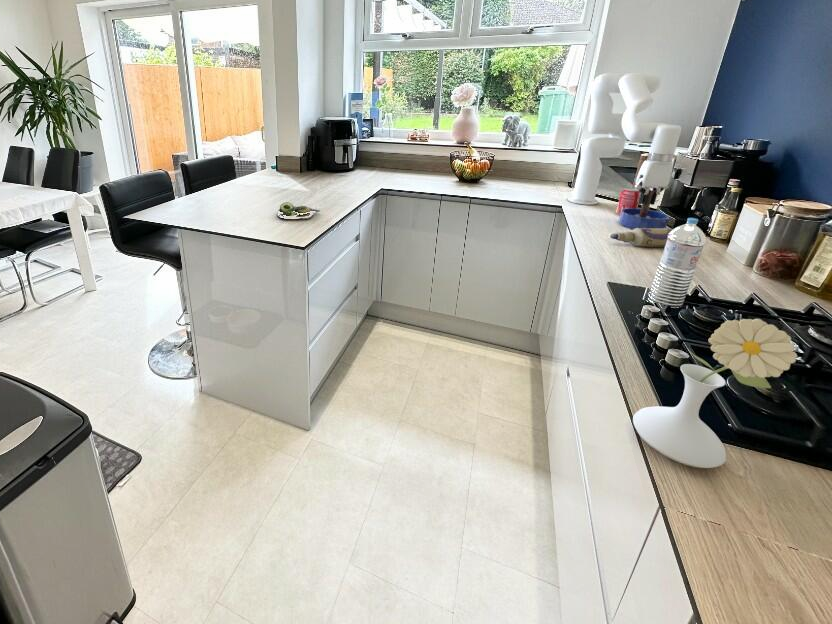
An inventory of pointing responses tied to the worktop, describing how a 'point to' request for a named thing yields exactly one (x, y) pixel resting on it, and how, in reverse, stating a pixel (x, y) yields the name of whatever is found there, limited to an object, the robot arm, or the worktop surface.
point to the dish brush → (646, 206)
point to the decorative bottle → (644, 237)
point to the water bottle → (677, 265)
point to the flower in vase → (750, 363)
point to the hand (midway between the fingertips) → (646, 203)
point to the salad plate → (289, 208)
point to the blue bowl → (643, 219)
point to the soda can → (628, 199)
